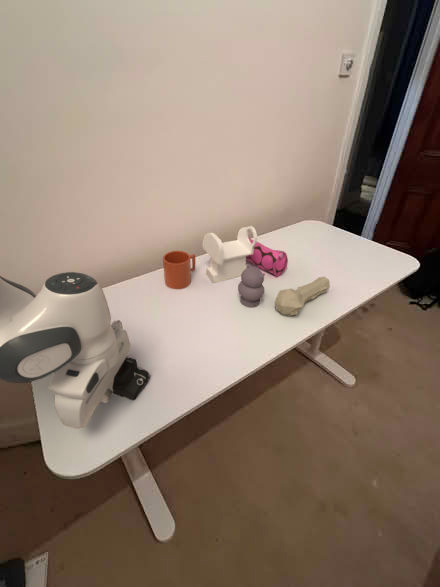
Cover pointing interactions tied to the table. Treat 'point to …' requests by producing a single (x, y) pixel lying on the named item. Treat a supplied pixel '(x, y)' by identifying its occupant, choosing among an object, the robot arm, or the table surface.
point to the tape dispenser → (228, 254)
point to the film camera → (129, 379)
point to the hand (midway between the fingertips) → (106, 396)
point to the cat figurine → (251, 286)
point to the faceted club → (300, 296)
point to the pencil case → (268, 259)
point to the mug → (178, 269)
